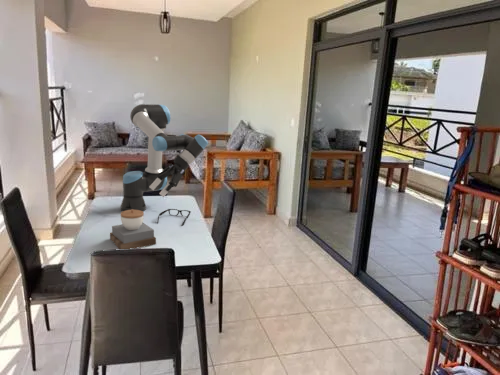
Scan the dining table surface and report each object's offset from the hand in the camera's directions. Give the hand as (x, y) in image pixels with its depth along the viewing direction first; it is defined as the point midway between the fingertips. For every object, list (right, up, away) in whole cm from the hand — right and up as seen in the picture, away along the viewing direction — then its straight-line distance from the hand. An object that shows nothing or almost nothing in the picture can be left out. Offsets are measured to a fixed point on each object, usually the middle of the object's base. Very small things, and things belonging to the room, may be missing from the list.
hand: (155, 192), depth 194 cm
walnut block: (-11, -25, -1) cm, 28 cm away
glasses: (+3, -17, +34) cm, 38 cm away
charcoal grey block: (-11, -21, -2) cm, 24 cm away
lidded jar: (-11, -18, -3) cm, 21 cm away
